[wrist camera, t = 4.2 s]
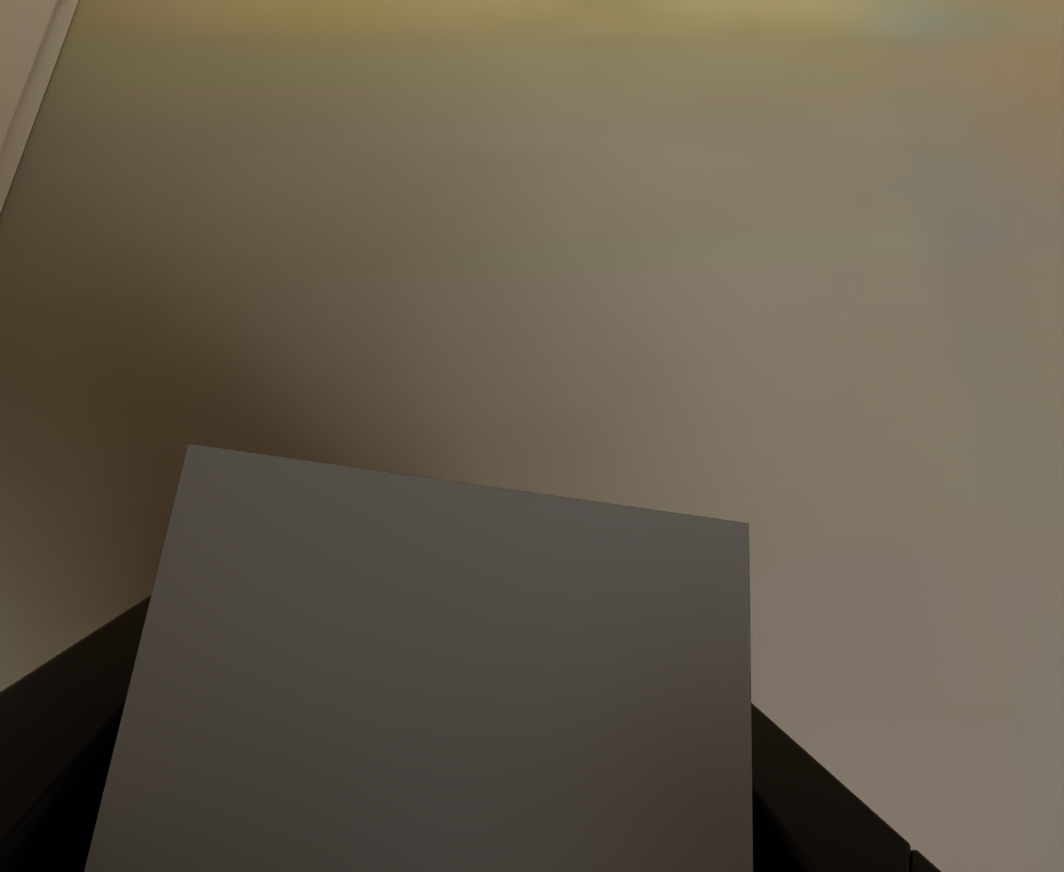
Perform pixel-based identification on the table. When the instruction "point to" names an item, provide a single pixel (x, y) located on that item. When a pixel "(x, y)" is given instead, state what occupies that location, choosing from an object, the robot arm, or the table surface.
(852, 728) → the table surface
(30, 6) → the box
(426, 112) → the table surface
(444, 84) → the table surface
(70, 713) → the robot arm
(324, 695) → the plug
